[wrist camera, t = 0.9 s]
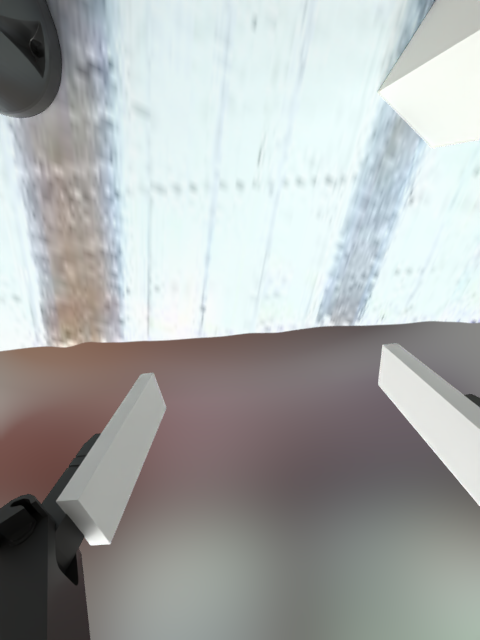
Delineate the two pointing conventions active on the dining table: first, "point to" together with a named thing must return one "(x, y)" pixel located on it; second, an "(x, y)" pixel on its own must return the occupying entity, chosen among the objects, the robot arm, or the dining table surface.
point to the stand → (440, 75)
